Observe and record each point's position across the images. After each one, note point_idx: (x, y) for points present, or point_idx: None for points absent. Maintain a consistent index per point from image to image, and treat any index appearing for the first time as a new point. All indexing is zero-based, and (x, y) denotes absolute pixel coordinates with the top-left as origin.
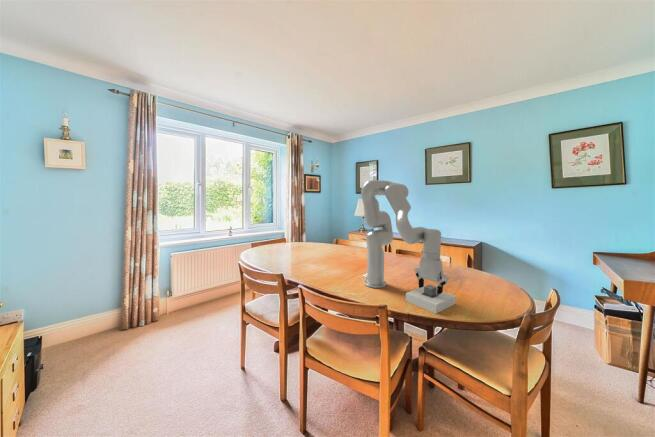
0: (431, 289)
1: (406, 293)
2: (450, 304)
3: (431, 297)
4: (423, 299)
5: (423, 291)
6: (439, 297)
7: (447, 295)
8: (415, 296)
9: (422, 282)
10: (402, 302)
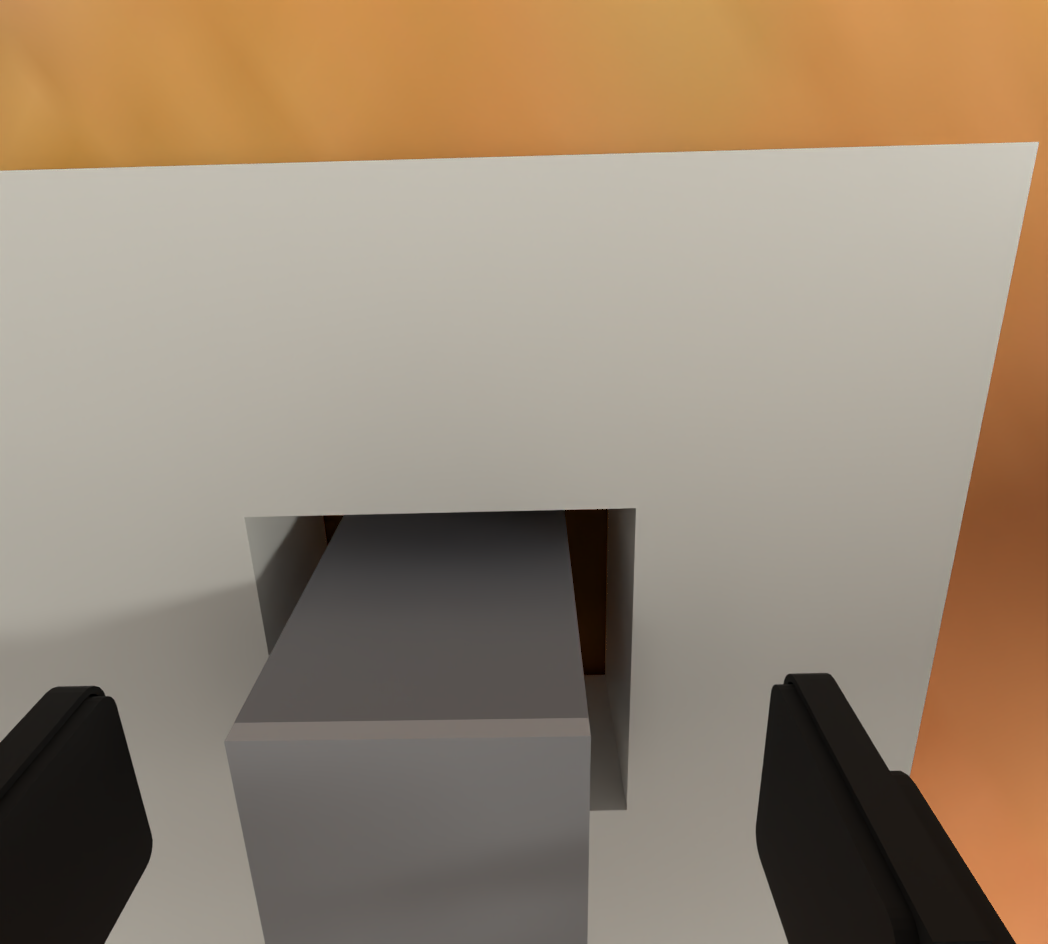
0: (248, 719)
1: (1002, 143)
2: None
3: (322, 560)
4: (302, 193)
5: (694, 703)
6: (187, 698)
7: (190, 918)
8: (624, 179)
9: (820, 937)
10: (917, 11)
